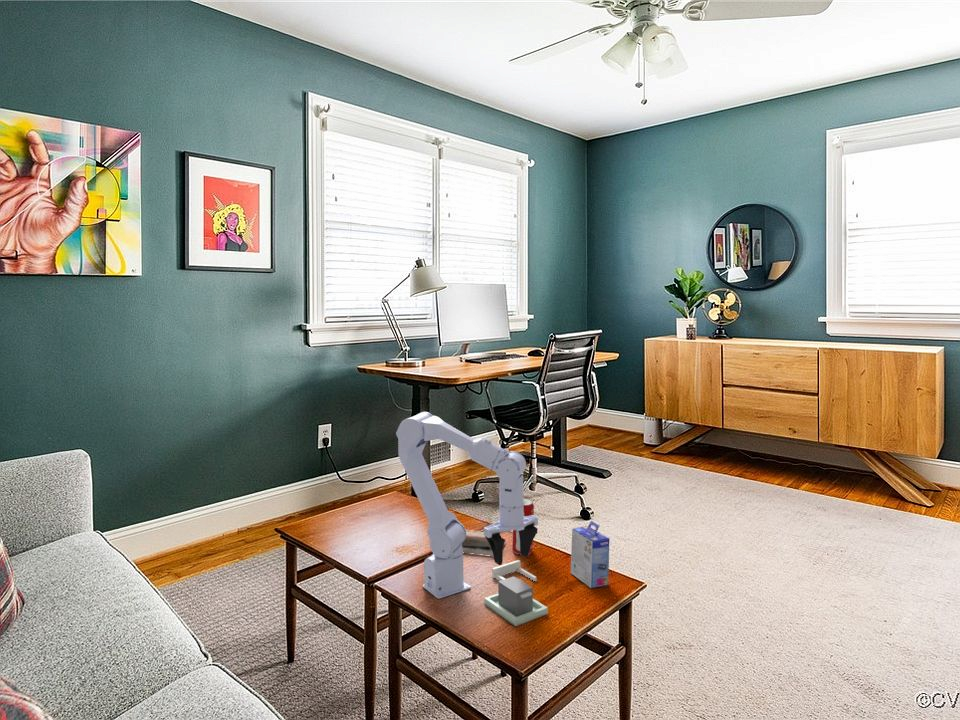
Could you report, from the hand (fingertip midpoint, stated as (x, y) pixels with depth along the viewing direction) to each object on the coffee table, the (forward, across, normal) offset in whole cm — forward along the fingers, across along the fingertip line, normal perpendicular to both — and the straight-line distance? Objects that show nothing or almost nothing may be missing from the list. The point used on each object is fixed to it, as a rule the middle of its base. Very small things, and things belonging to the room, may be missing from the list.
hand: (511, 559), depth 145 cm
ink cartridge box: (+10, +22, -4) cm, 24 cm away
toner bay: (+9, +6, +7) cm, 13 cm away
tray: (+9, -3, -5) cm, 11 cm away
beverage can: (+10, +18, +19) cm, 28 cm away
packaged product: (+10, +8, +31) cm, 33 cm away
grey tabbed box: (+9, -3, -5) cm, 11 cm away
